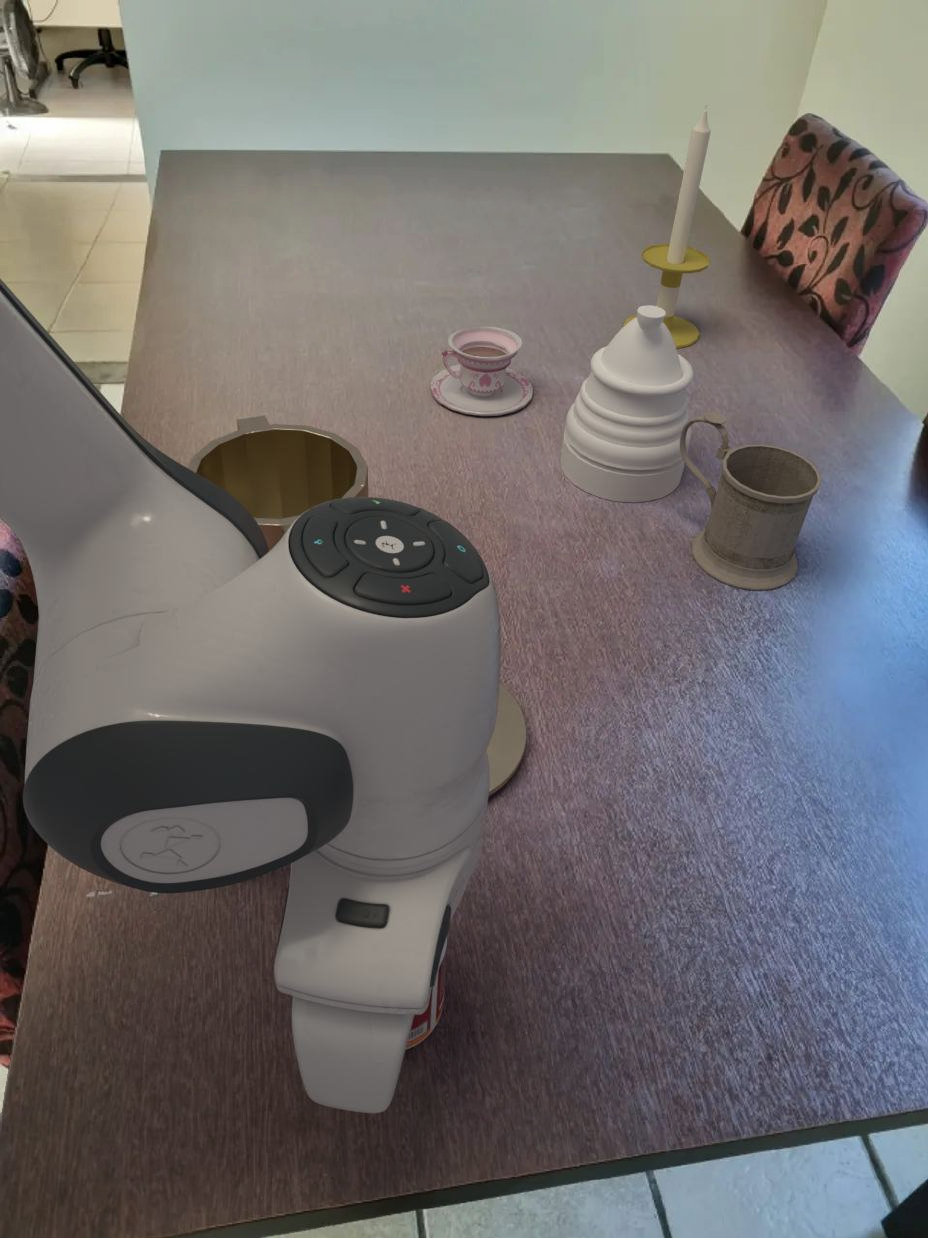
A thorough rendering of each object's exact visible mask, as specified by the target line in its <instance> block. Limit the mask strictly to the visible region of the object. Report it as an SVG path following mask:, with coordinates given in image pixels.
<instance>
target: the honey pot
mask: <svg viewBox="0 0 928 1238" xmlns="http://www.w3.org/2000/svg"><path fill="white" fill-rule="evenodd" d="M636 314H637V317H636V318H634V319H633V320H631V321H630V322H629V323H627V324H626V325H625V326H624V327H623V326H622V328H621V329H620V330H619V331H618V332H617V333H616V334H615V335H614V337H613V338H611V340H610V342H609V343H608V345H606V346H603V347H601V348H600V349H599V350H597V351H596V352H594V353H593V355H592V357H591V359H590V361H589V362H590V371H591V372H590V373H589V375H588V377H587V378H586V379H585V380H583V382H582V384H581V386H580V391H579V392H578V394H577V395H576V398H575V399H574V402H573V404H572V405H570V408H569V409H568V412H567V414H566V417H565V424H564V431H563V435H562V444H561V450H560V457H559V461H560V463H559V466H560V469H561V471H562V473H563V475H564V477H565V478H567V479H568V481H569V482H571V484H572V485H574V486H575V487H577V488H578V489H580V490H581V491H584V492H585V493H588V494H590V495H593V496H595V497H598V498H600V499H605V500H609V501H613V502H618V503H619V502H620V503H621V502H622V503H633V504H634V503H644V502H651V501H654V500H659V499H662V498H664V497H666V496H668V495H670V494H671V493H673V492H674V491H675V490H676V489H677V488H678V487H679V485H680V484H681V480H682V477H683V473H684V468H685V465H686V464H685V462H684V460H683V458H682V455H681V451H680V436H681V431H682V428H683V426H684V425H685V423H686V422H687V421H688V420H689V419H690V412H689V404H690V403H689V402H690V401H689V398H688V397H689V396H688V394H687V392H686V389H687V388H688V387H689V386H690V385H691V384H692V382H693V380H694V375H695V374H694V370H693V367H692V365H691V364H690V362H689V361H688V360H687V358H685V357H684V356H682V355H681V354H680V353H678V350H677V349H676V346H675V343H674V340H673V338H672V336H671V334H670V332H669V330H668V328H667V327H666V325H665V324H664V323H663V320H664V318H665V314H666V312H665V311H664V310H663V309H662V308H659V307H656V305H650V304H649V305H641V306H639V307H638V308H637V310H636ZM692 430H693V429H692V425H691V426H690V427H689V428H688V431H687V434H686V451H687V453H688V452H689V448H690V443H691V440H692V435H693V434H692V433H693V431H692Z"/></svg>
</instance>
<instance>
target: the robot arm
mask: <svg viewBox="0 0 928 1238" xmlns="http://www.w3.org/2000/svg"><path fill="white" fill-rule="evenodd" d="M0 520H1V521H2V522H3V523H4V524H5V525H6V526H7V527H8V528H10V530H11V531H12V532H13V533H14V534H15V537H16V538H17V539H18V541H19V543H20V544H21V546H22V548H23V549H24V552H25V555H26V557H27V561H28V564H29V566H30V567H29V568H30V570H31V574H32V578H33V583H34V587H35V593H36V600H37V607H38V608H37V609H38V621H37V622H38V623H37V634H36V635H37V636H36V646H35V657H34V670H33V671H34V672H33V683H32V689H31V693H30V694H31V695H30V700H29V709H28V710H29V711H28V725H27V737H26V748H25V749H26V750H25V763H24V764H25V766H24V786H23V790H22V791H23V792H22V804H23V809H24V812H25V815H26V816H25V817H26V818H27V820H28V822H29V823H30V825H31V827H32V828H33V830H34V831H35V832H36V833H37V834H38V836H39V837H40V838H41V839H42V840H43V841H44V842H45V843H46V844H47V845H48V846H49V847H50V848H51V849H52V850H53V851H55V852H56V853H57V854H59V855H60V856H61V857H62V858H64V859H65V860H67V861H69V862H70V863H71V864H73V865H75V866H76V867H78V868H80V869H82V870H84V871H86V872H88V873H90V874H92V875H94V876H96V877H99V878H102V879H104V880H106V881H110V882H113V883H115V884H118V885H122V886H125V887H128V888H132V889H136V890H139V891H142V892H149V893H155V894H183V893H193V892H200V891H207V890H211V889H212V890H213V889H219V888H223V887H228V886H232V885H236V884H239V883H243V882H246V881H250V880H252V879H256V878H259V877H261V876H265V875H267V874H270V873H272V872H275V871H277V870H279V869H282V868H284V867H286V866H289V865H290V872H289V873H290V874H289V882H288V884H287V889H286V896H285V902H284V907H283V914H282V918H281V923H280V929H279V933H278V938H277V944H276V945H277V946H276V947H277V948H276V949H277V950H276V953H275V958H274V964H273V976H274V982H275V987H276V989H277V991H278V992H279V993H282V994H285V995H289V996H292V999H291V1001H292V1002H291V1033H292V1040H293V1045H294V1051H295V1057H296V1060H297V1065H298V1069H299V1073H300V1078H301V1080H302V1084H303V1088H304V1091H305V1092H306V1095H307V1096H308V1097H309V1099H311V1101H313V1102H314V1103H317V1104H319V1105H322V1106H324V1107H328V1108H333V1109H338V1110H343V1111H350V1112H356V1113H364V1114H380V1113H382V1112H385V1111H387V1109H388V1108H389V1107H390V1105H391V1103H392V1100H393V1098H394V1096H395V1092H396V1088H397V1084H398V1082H399V1081H398V1080H399V1077H400V1074H401V1069H402V1066H403V1061H404V1058H405V1054H406V1050H407V1049H406V1046H407V1042H408V1038H409V1034H410V1030H411V1026H412V1022H413V1019H414V1015H421V1014H423V1013H424V1012H425V1011H426V1009H427V1008H428V1005H429V1000H430V994H431V989H432V987H434V985H435V980H436V975H437V971H438V967H439V962H440V958H441V954H442V950H443V947H444V944H445V940H446V937H447V938H448V934H449V929H450V925H451V922H452V919H453V918H454V915H455V913H456V911H457V909H458V907H459V905H460V903H461V901H462V899H463V897H464V895H465V893H466V890H467V887H468V884H469V881H470V879H471V878H472V875H473V874H474V873H475V870H476V868H477V866H478V865H479V861H480V859H481V857H482V851H483V848H484V840H485V839H484V838H485V830H486V823H487V822H486V821H487V820H486V819H487V811H488V803H489V797H488V794H489V786H490V765H489V759H488V754H487V751H486V749H487V747H488V746H489V743H490V741H491V738H492V736H493V733H494V730H495V725H496V720H497V711H498V699H499V687H500V683H501V665H502V663H501V662H502V661H501V658H502V649H501V647H502V645H501V638H502V637H501V636H502V635H501V615H500V607H499V600H498V595H497V590H496V586H495V582H494V580H493V576H492V574H491V571H490V570H489V568H488V567H487V564H486V562H485V560H484V559H483V557H482V556H481V555H480V553H479V551H478V550H477V548H476V547H475V546H474V545H473V543H472V542H471V541H470V540H469V539H468V538H467V537H466V536H465V535H464V534H463V533H462V532H461V531H460V530H459V529H458V528H456V527H455V526H454V525H452V524H451V523H450V522H448V521H446V520H445V519H444V518H442V517H440V516H438V515H437V514H435V513H433V512H431V511H429V510H426V509H424V508H421V507H419V506H416V505H413V504H410V503H407V502H403V501H400V500H395V499H390V498H384V497H374V496H368V497H349V498H341V499H335V500H331V501H327V502H324V503H321V504H319V505H317V506H314V507H312V508H311V509H309V510H307V511H306V512H304V513H303V514H302V515H300V516H299V517H298V518H297V519H296V520H295V521H294V522H293V523H292V525H291V526H290V527H289V529H288V530H287V531H286V533H285V534H284V535H283V537H282V538H281V540H280V541H279V542H278V543H277V544H276V545H275V546H274V547H273V548H272V549H271V550H270V551H269V548H268V545H267V542H266V539H265V536H264V534H263V532H262V530H261V528H260V527H259V525H258V523H257V522H256V520H255V519H254V518H253V516H252V515H251V514H250V513H249V511H248V510H247V509H246V508H245V507H244V506H243V505H242V504H241V503H240V502H239V501H237V500H236V499H235V498H234V497H233V496H231V495H230V494H229V493H227V492H226V491H225V490H223V489H222V488H220V487H219V486H217V485H215V484H214V483H212V482H211V481H209V480H207V479H206V478H204V477H202V476H200V475H199V474H197V473H195V472H193V471H192V470H190V469H188V467H186V466H184V465H183V464H181V463H180V462H178V461H176V460H174V459H173V458H171V457H170V456H168V455H167V454H165V453H164V452H162V450H160V449H158V448H157V447H156V446H154V445H153V444H152V443H150V442H149V441H148V440H146V439H145V438H144V437H143V435H141V434H140V433H139V432H137V430H136V429H135V428H134V427H133V426H132V425H131V424H130V423H129V422H128V421H127V420H126V419H125V418H124V417H123V415H121V414H120V412H119V411H118V410H117V409H116V408H115V407H114V406H113V405H112V403H111V402H110V401H109V400H108V399H107V398H106V397H105V395H104V394H103V393H102V392H101V391H100V389H98V388H97V386H96V385H95V384H94V383H93V382H92V381H91V380H90V379H89V377H88V376H87V375H86V374H85V373H84V372H83V370H82V369H81V368H80V367H79V366H78V365H77V364H76V362H75V361H74V360H73V359H72V358H71V357H70V355H68V353H67V352H66V351H65V350H64V349H63V348H62V346H60V344H59V343H58V342H57V341H56V340H55V338H54V337H53V336H52V335H51V334H50V332H48V331H47V330H46V328H45V327H44V326H43V325H42V323H41V322H40V321H39V320H38V319H37V318H36V317H35V315H33V314H32V312H31V311H30V310H29V309H28V308H27V307H26V306H25V304H23V302H22V301H21V300H20V298H18V296H16V294H15V293H14V292H13V291H12V290H11V289H10V287H8V285H7V284H6V283H5V282H4V281H3V280H2V278H0Z"/></svg>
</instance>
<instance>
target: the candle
mask: <svg viewBox="0 0 928 1238" xmlns="http://www.w3.org/2000/svg"><path fill="white" fill-rule="evenodd" d="M711 132H712V130H711V128H710V127H709V123H708V111H707V104H706V105H705V108H704V110H702V113H701V116H700V118H699V120H698V121H697V123H696V124H695V125H694V126H693V127H692V128H691V133H690V137H689V144H688V149H687V153H686V158H685V164H684V169H683V172H682V173H683V174H682V179H681V184H680V189H679V194H678V199H677V205H676V208H675V209H676V210H675V214H674V220H673V226H672V230H671V235H670V241H669V243H658V244H652V245H649V246H647V247H645V248H643V250H642V252H641V258H642V260H643V261H644V263H645V264H647V265H649V266H650V267H652V268H654V269H656V270H660V271H662V273H661V278H660V283H659V290H658V294H657V299H656V304H655V306H656V307H659V308H662V309H663V310H664V311H665V312H666V314H665V318H664V320H663V323H664V324H665V325H666V327H667V328H668V330H669V332H670V334H671V336H672V338H673V340H674V343H675V346H676V349H682V348H689V347H690V346H692V345H694V344H696V343H697V341H698V339H699V336H700V332H699V329H698V328H697V327H696V326H695V325H694V324H693V323H692V322H690V321H689V320H687V319H685V318H682V317H680V316H677V315H675V312H676V307H677V302H678V297H679V293H680V288H681V284H682V279H683V275H684V274H694V273H700V272H703V271H704V270H707V268H708V267H709V266H710V263H711V260H710V257H709V256H708V255H707V254H706V253H704V252H703V251H702V250H699V249H696V248H694V247H691V246H688V243H689V237H690V233H691V228H692V223H693V218H694V215H695V208H696V204H697V200H698V199H697V198H698V194H699V189H700V185H701V181H702V177H703V176H702V175H703V170H704V165H705V160H706V156H707V152H708V146H709V142H710V137H711ZM636 317H637V313H635V314H633V315H631V316H630V317H628V318H626V319H625V322H624V323H623V325H622V328H623V327H624V326H625V325H626V324H627V323H629V322H630V321H631V320H633V319H634V318H636Z"/></svg>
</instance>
